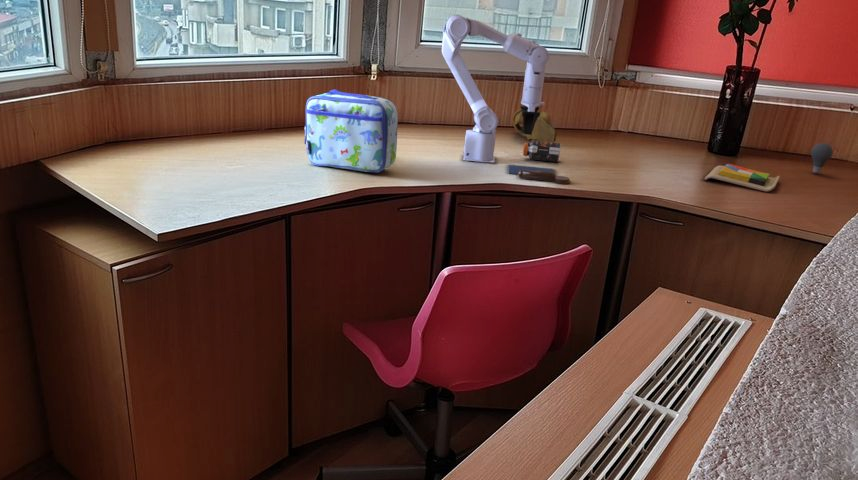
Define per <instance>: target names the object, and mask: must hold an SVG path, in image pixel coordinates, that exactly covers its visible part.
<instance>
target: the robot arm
mask: <svg viewBox="0 0 858 480" xmlns="http://www.w3.org/2000/svg"><path fill="white" fill-rule="evenodd" d="M467 36H470V37H475V36H481V37H483V38H485V39H487V40H489V41H491V42H494V43H496V44H499V45H501V46H502V48H503V51H504V52H505V53H507V54H508V55H511V56H513V57H516V58H518V59H520V60H522V61H526V67H525V71H524V80H523V81H524V82H523V88H522V96H521V100H520V104H521V105H520V109H521V113H522V116H523V124H522V127H523V128H524V134H528V135H531V134H532V131H533V128H534V125H535V122H536V120H537V118H538V117H539V115H540V112H541V111H539V110H540V106H545V105H546V104H545V101H542V97H543V90H544V82H545V74H546V72H545V70H546V64H547V63H548V62H549V60H550V56H549V55H550V54H549V51H548V49H547V48H546V47H545V46H543V45H540V44H539V43H537V41H536V40H529V39H527V38H526V37H523V34H522V33H519V32H517V33H515V32H512V33H509V34H506V33H504V32H502V31H499V30H497V29H495V28H493V27H492V26H489V25H487V24H485V23H484V22H482V21H479V20H477V19H473V18H469V17H465V16H462V15H460V14H452V15H451V16H449V17H448V19H447V20H446V21H445V23H444V26H443V28H442V41H441V42H442V43H441V44H442V45H441V54H442V56H443V59H444V61H445V63H446V64H447V66H448V67H449V70H450V72H451V73H452V75H453V77H454V79H455V81H456V83H457V85H458V86H459V88H460V90H461V92H462V94H463V96H464V97H465V100H466V102H467V103H468V105H469V106H470V108H471V110H472V112H473V121H474V123H475V125H474V126H473V127H472V129H466V131H465V138H464V147H463V148H462V149H463V151H462V154H463V159H462V160H463V161H465V162H466V161H468V162H480V163H490V164H494V163H495V159H496V158H495V156H494V155H495V148H496V139H497V129H496V128H497V127H498V124H499V119H498V116H497V114H496V113H494V111H493V109H492V108H491V107H489V105H488V104H487V102H486V101H485V99H484V97H483V95H482V93H481V91H480V90H479V88H478V86H477V84H476V82H475V81H474V78H473V76H472V75H471V73H470V71H469V69H468V67H467V65H466V63H465V61H464V60H463V58H462V56H461V54H460V50H461V47H462V44H463V41H464V40H465V39H466V37H467Z"/></svg>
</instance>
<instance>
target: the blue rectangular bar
mask: <svg viewBox="0 0 858 480" xmlns="http://www.w3.org/2000/svg"><path fill="white" fill-rule="evenodd" d="M521 169H525V170H536V171H547V172H553V173H555V172H554V169H553V168H548V167H537V166H527V165H526V166H525V165H515V164H509V165H508V174H509V175H517V176H518V172H519V170H521Z"/></svg>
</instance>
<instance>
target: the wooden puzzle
mask: <svg viewBox="0 0 858 480" xmlns="http://www.w3.org/2000/svg"><path fill="white" fill-rule="evenodd" d="M780 178H781V176H780V175H777V176H775V177H772V176H771V177H770V173H766V172H762V171H759V170H755V169H750V168H746V167H744V166H739V165H735V164H732V163H726V164H725V165H717V166H715V167H714V168H713V169H712V170H711V171H710V172H709V173H708V174H707V175H706V176H705V177H704V180H705V181H707V180H709V179H714V180H719V181H722V182H726V183H730V184H734V185H737V186H742V187H746V188H750V189H754V190H757V191H761V192H765V193H766V192H768V193H769V192H771V191H773V190H775V189H776V186H777V184H778V182H779V180H780Z"/></svg>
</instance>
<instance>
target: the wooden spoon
mask: <svg viewBox="0 0 858 480" xmlns="http://www.w3.org/2000/svg"><path fill="white" fill-rule="evenodd" d="M553 172H554V171H553ZM553 172H547V171H536V170H525V169H521V170H519V172H518V175H517V176H518V178H519V179H522V180H523V179H525V180H535V181H544V182H553V183H556V184H559V185H568V184H569V183H570V179H571V178H569V177H568V176H563V175H556V173H555V172H554V173H553Z"/></svg>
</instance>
